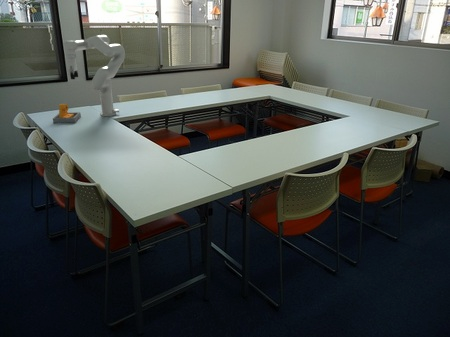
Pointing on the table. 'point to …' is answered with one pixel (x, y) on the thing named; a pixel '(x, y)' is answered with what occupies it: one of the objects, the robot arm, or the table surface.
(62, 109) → the bracket
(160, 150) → the table surface
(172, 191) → the table surface
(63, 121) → the bin
